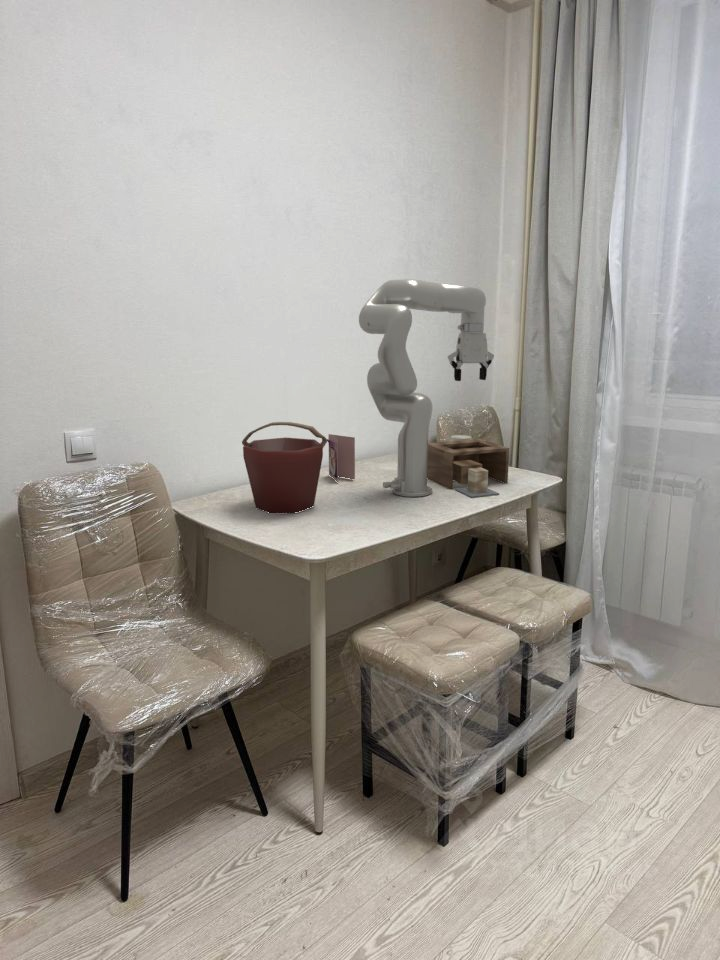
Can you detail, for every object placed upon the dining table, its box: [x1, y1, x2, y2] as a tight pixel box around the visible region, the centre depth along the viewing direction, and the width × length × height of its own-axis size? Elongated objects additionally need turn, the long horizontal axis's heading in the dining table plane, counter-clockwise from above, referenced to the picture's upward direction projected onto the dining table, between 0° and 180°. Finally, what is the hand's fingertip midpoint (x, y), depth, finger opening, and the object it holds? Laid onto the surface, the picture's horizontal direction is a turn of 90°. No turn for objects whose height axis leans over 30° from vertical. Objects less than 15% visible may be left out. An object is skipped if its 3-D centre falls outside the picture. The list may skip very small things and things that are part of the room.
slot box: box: [427, 438, 510, 490], centre depth 226 cm, size 22×18×12 cm
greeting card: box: [326, 433, 356, 483], centre depth 228 cm, size 11×7×15 cm, turn 18°
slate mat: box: [455, 487, 500, 499], centre depth 212 cm, size 10×10×1 cm
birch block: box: [467, 468, 489, 493], centre depth 211 cm, size 4×4×7 cm
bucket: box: [241, 421, 329, 514], centre depth 193 cm, size 24×22×25 cm
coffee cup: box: [449, 434, 473, 441], centre depth 243 cm, size 8×9×12 cm
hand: (470, 380), depth 227 cm, fingers open, 9 cm apart
